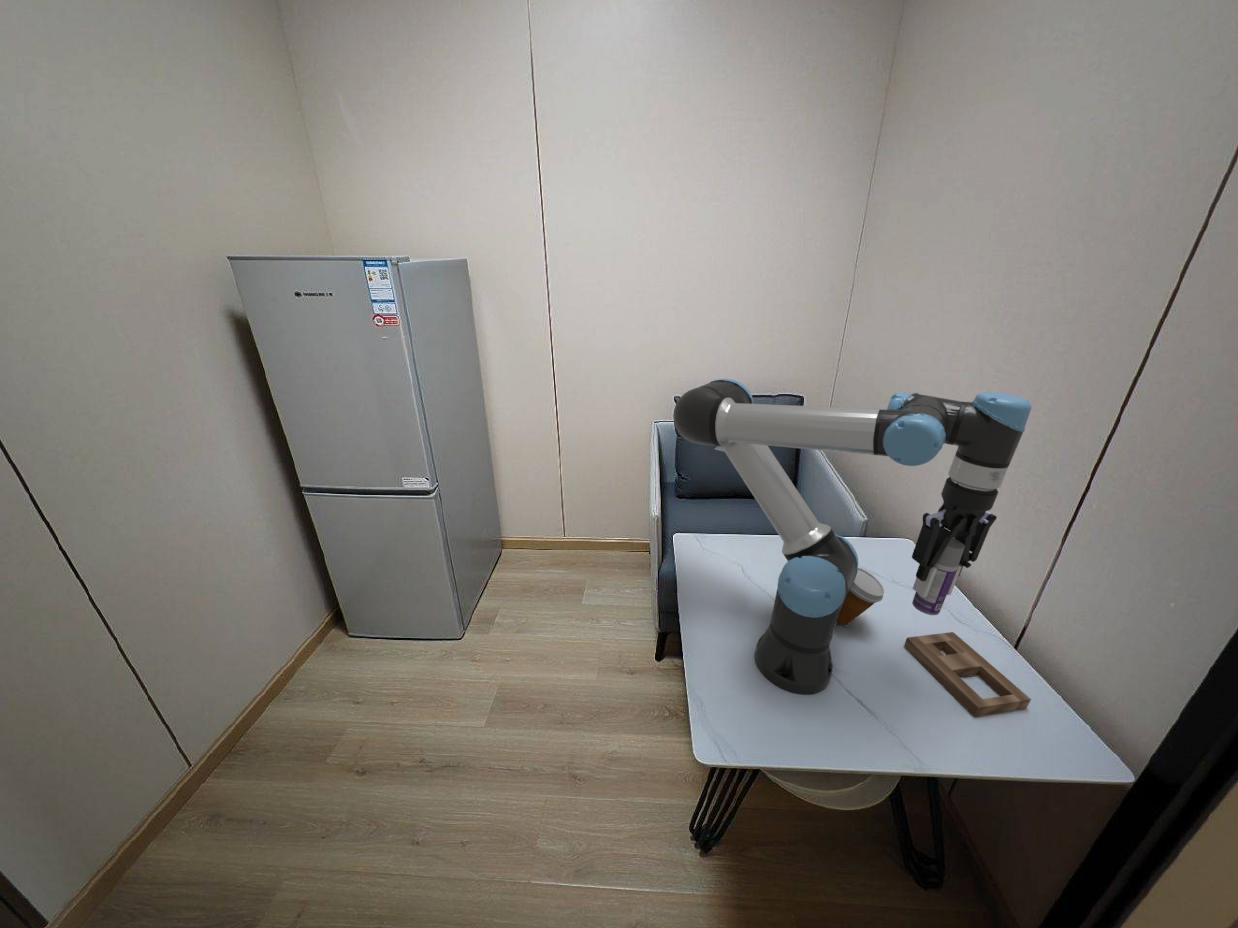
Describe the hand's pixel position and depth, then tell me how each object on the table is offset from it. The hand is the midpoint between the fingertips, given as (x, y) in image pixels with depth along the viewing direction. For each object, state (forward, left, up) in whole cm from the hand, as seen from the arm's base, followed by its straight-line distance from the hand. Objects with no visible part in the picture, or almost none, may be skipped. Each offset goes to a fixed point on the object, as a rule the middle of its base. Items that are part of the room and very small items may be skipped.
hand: (931, 591), depth 90 cm
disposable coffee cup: (-5, +16, -19) cm, 26 cm away
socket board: (+11, -3, -20) cm, 23 cm away
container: (0, 0, -4) cm, 4 cm away
